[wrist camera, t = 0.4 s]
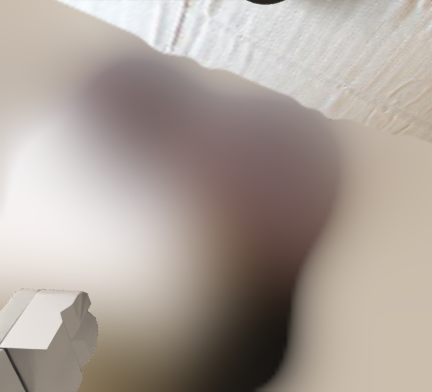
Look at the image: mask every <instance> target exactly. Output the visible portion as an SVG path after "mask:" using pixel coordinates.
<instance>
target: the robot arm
mask: <svg viewBox="0 0 432 392" xmlns="http://www.w3.org/2000/svg"><path fill="white" fill-rule="evenodd" d="M90 305H91V302H90V299H89V297H88V294H87V293H85V292H81V291H64V290H46V289H43V290H39V289H21V290H19V291H17V292H15V294H14V295H13V296H12V297H11V299H10V300H9V301H8V303H7V304H6V305H5V306H4V308H3V309H2V310H1V312H0V392H77V390H78V388H79V385H80V383H81V381H82V378H83V374H82V371H81V367H82V366H83V365H84V364H86V363H87V362H88V361H89V360H91V358H92V356H93V353H94V351H95V348H96V344H97V338H98V325H97V321H96V318H95V317H94V316H93V315H92V314H91V313H90V312H88V309H89V307H90Z"/></svg>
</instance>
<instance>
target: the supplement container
mask: <svg viewBox="0 0 432 392" xmlns="http://www.w3.org/2000/svg"><path fill="white" fill-rule="evenodd" d="M247 1H249V2H252V3H255V4H261V5H270V4H276V3H279V2H282V1H284V0H247Z"/></svg>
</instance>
